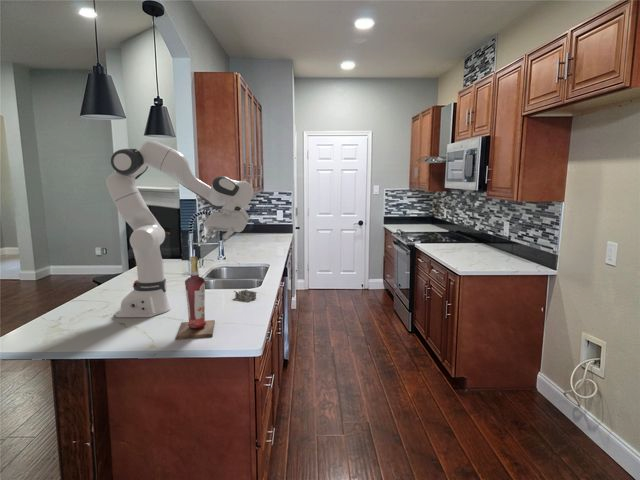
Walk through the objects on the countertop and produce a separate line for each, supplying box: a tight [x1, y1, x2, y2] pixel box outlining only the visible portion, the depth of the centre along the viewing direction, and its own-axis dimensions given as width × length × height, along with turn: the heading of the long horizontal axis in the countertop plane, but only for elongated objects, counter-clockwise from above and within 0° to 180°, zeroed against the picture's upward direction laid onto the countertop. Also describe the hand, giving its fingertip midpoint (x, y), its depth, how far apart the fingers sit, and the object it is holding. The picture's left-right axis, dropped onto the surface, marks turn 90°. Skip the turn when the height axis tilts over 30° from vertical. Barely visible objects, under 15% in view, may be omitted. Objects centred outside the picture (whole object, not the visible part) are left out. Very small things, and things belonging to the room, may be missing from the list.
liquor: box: [184, 256, 206, 329], centre depth 152 cm, size 7×7×28 cm
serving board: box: [175, 319, 216, 340], centre depth 153 cm, size 13×15×1 cm
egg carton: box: [233, 289, 258, 302], centre depth 196 cm, size 11×8×4 cm
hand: (216, 237), depth 164 cm, fingers open, 8 cm apart
